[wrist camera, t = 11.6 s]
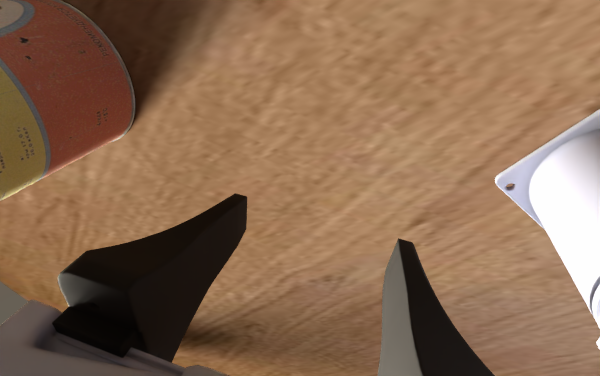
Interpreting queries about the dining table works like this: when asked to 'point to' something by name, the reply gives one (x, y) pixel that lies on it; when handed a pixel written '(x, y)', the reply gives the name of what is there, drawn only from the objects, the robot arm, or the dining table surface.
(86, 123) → the canned food
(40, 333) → the robot arm
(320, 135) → the dining table surface
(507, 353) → the dining table surface
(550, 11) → the dining table surface
